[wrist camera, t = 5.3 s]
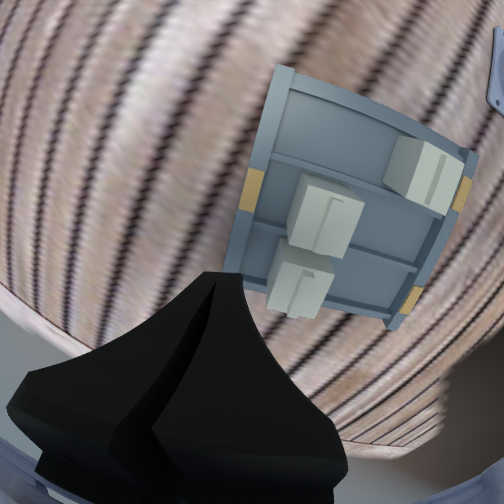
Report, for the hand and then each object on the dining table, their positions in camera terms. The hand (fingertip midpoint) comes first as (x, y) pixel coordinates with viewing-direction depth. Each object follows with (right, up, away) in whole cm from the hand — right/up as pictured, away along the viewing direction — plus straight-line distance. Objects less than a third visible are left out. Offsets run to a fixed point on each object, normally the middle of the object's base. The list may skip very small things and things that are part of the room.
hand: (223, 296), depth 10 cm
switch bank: (+7, +4, +8) cm, 12 cm away
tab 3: (+11, +7, +5) cm, 14 cm away
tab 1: (+5, +5, +7) cm, 10 cm away
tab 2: (+4, +1, +9) cm, 10 cm away
